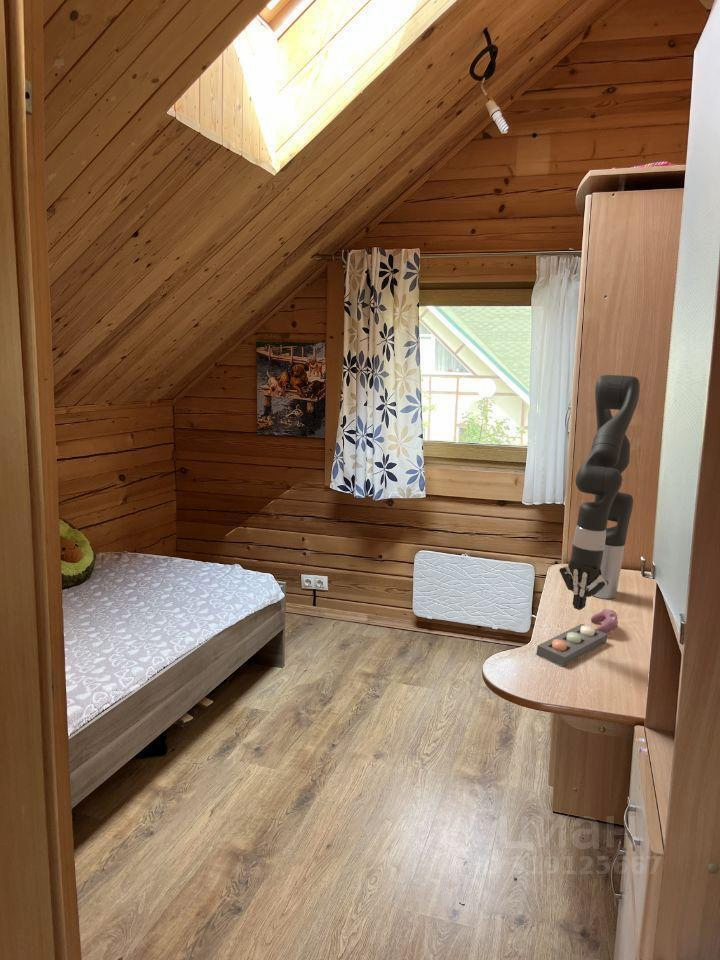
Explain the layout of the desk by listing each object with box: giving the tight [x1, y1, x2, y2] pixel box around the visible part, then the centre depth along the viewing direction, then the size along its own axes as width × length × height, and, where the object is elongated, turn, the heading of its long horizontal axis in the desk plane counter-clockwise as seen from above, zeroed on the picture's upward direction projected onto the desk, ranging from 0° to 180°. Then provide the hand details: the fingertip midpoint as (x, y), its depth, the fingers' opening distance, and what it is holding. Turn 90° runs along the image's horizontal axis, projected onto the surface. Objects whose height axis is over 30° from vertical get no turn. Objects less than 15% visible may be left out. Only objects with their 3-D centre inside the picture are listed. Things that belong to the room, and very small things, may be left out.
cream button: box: [580, 625, 595, 638], centre depth 182 cm, size 4×4×2 cm
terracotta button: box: [552, 639, 567, 652], centre depth 173 cm, size 4×4×2 cm
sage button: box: [566, 632, 582, 645], centre depth 177 cm, size 4×4×2 cm
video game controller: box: [590, 607, 619, 634], centre depth 190 cm, size 10×5×7 cm
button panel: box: [535, 623, 609, 667], centre depth 178 cm, size 22×8×2 cm, turn 133°
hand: (578, 608), depth 175 cm, fingers closed
